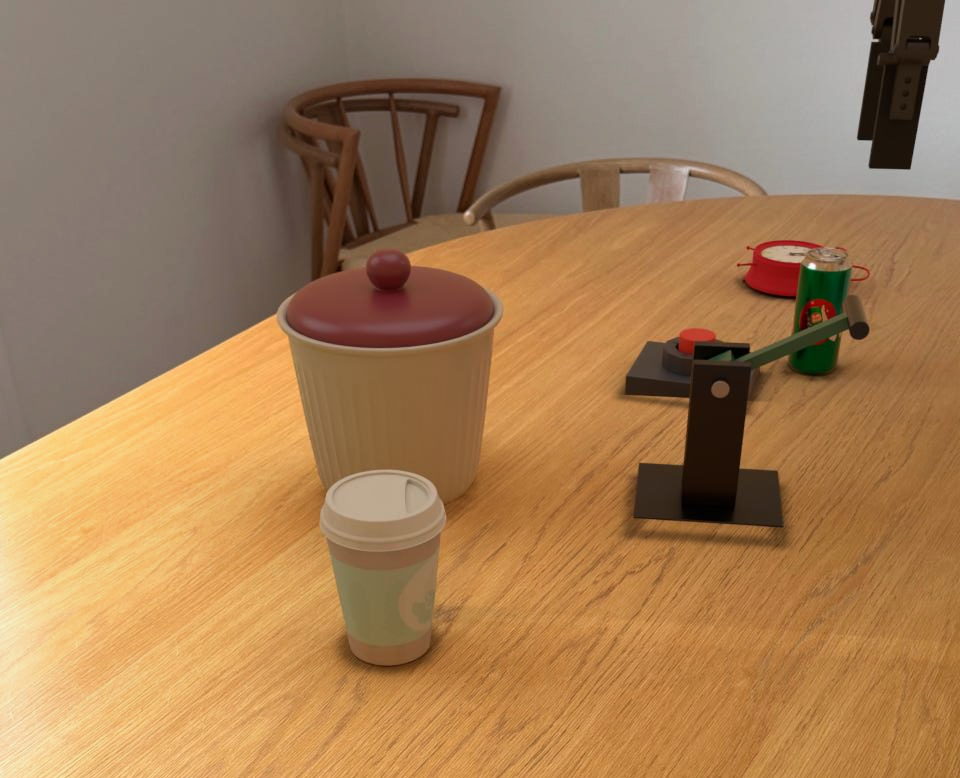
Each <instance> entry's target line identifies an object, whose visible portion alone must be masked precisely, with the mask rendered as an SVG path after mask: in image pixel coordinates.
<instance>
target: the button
mask: <svg viewBox="0 0 960 778" xmlns="http://www.w3.org/2000/svg"><path fill="white" fill-rule="evenodd" d="M678 337H679V347H678V350H679V351H680V352H682V353H685V354H690V355H693V351H694V341H710V342H715V340H716V339H717V335H716V333H715V331H712V330H710V329H706V328H700V327H693V328H692V327H691V328H685V329H683V330H680V332H679V335H678Z"/></svg>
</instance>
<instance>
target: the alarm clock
mask: <svg viewBox="0 0 960 778" xmlns="http://www.w3.org/2000/svg"><path fill="white" fill-rule="evenodd" d="M814 248H826V247H825V246H823V245H820V244H818V243H813V242H809V241H804V240H794V239H793V240H792V239H780V240H779V239H777V240H769V241H765V242H762V243H759V244H757V245H756V246H755V247H751V246H750V245H747V246H746V250H748V251H749V250H751V251H753V252H752V261H751V262H747V263H740V262H738V263H737V264H736V266H737V267H738V268H740V267H749V266H750V267H749V269H748V270H747V272H746V274H745V276H743V277H742V278H741V279H742V282H743V281H744V280H745V283H746V285H748V287H750V288H752V289H754V290H756V291H759V292H763V293H766V294H770V295H776V296H783V297H785V296H786V297H796V295H797V288H798V280H799V273H800V265H801V262H802V260H803V259H804V258H805V257H806V252H807V251H808V250H810V249H814ZM834 248H835V249H840V250H843V251H846V252H848V250H847V249H846V248H845V247H841V246H836V247H834ZM851 264H852V266H853V268H852V269H859V270H863V271H865V272H866V273H867V275H866V276H865V277H862V278H851V280H850V282H861V281H865V280H868V279H869V278H870V275H871V272H870V270H869V269H868V268H867V267H864V266H860V265H854V264H853V263H852V262H851Z"/></svg>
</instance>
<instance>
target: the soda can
mask: <svg viewBox="0 0 960 778" xmlns="http://www.w3.org/2000/svg"><path fill="white" fill-rule="evenodd" d="M835 248H836V247H825V248H814V249H810V250H808V251H807V252H806V257H805V258H804V259H803V260H802V262H801V265H800V273H799V280H798V288H797V295H796V296H795V303H794V311H793V318H792V325H791V334H790V336H791V335H794V334H796V333H798V332H801V331H803V330H805V329H808V328H810V327H812V326H814V325H817V324H819V323H821V322H824V321H826V320H828V319H831V318H833V317H835V316H838V315H840V314H842V313H844V309H843V301H844V300H845V298H846V297H848V296H849V291H850V286H851V281H850V280H851V279H852V274H853V269H854V268H853V266H852V265H853V263H852V261H851V254H850V253H849V252H848V251H847V252H846V251H843V250H840V249H835ZM851 263H852V264H851ZM842 336H843V332H841V333H839V334H836V335H834V336H832V337H829V338H827V339H825V340H822V341H820V342H818V343H815V344H813V345H810V346H808V347H806V348H803V349H801V350H799V351H796V352H794V353H792V354H789V355H787V363H788V365H789V367H790V368H791V370H793V371H794V372H796V373H799V374H801V375H806V376H823V375H827V374H830V373H831V372H833V371H834V370H835V369H836V368H837V366H838V362H839V356H840V355H839V354H840V351H841V350H840V349H841V344H842V343H841V342H842V338H843V337H842Z"/></svg>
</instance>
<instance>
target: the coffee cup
mask: <svg viewBox="0 0 960 778" xmlns="http://www.w3.org/2000/svg"><path fill="white" fill-rule="evenodd" d="M319 517H320V518H319V521H318V522H319V523H318V524H319V529H320V531H321V533H322V534H323V536H324V537H325V538H326V544H327V548H328V553H329V557H330V562H331V567H332V571H333V575H334V581H335V585H336V590H337V594H338V599H339V604H340V609H341V613H342V617H343V621H344V626H345V631H346V635H347V639H348V644H349V648H350V651H351V652H352V654H353V655H354V656H355V657H357V658H358V659H359V660H361V661H362V662H365V663H368V664H372V665H376V666H384V667H385V666H389V667H391V666H398V665H403V664H404V665H405V664H407V663H410V662H413V661H415V660H417V659H419V658H420V657H422V656H423V655H424V654H425V653H426V652H427V651H428V650H429V648H430V646H431V641H432V640H431V639H432V631H433V622H434V621H433V620H434V610H435V600H436V588H437V580H438V570H439V569H438V568H439V558H440V547H441V537H442V536H441V535H442V530H443V529H444V528H445V526H446V524H447V513H446V511H445V504H444V505H443V503H442V501H441V500H440V498H439V496H438V493H437V490H436V488H435V486H434V485H433V484H432V483H431V482H430V481H429V480H427V479H426V478H424V477H422V476H420V475H417V474H414V473H410V472H406V471H399V470H372V471H366V472H361V473H357V474H353V475H350V476H348V477H345V478H343V479H341V480H339V481H338V482H336V483H335V484H334V485H332V486H331V487H330V489H329V490H328V492H327V491H326V494H325V498H324V503H323V505H322V506H321V509H320V515H319Z"/></svg>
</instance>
